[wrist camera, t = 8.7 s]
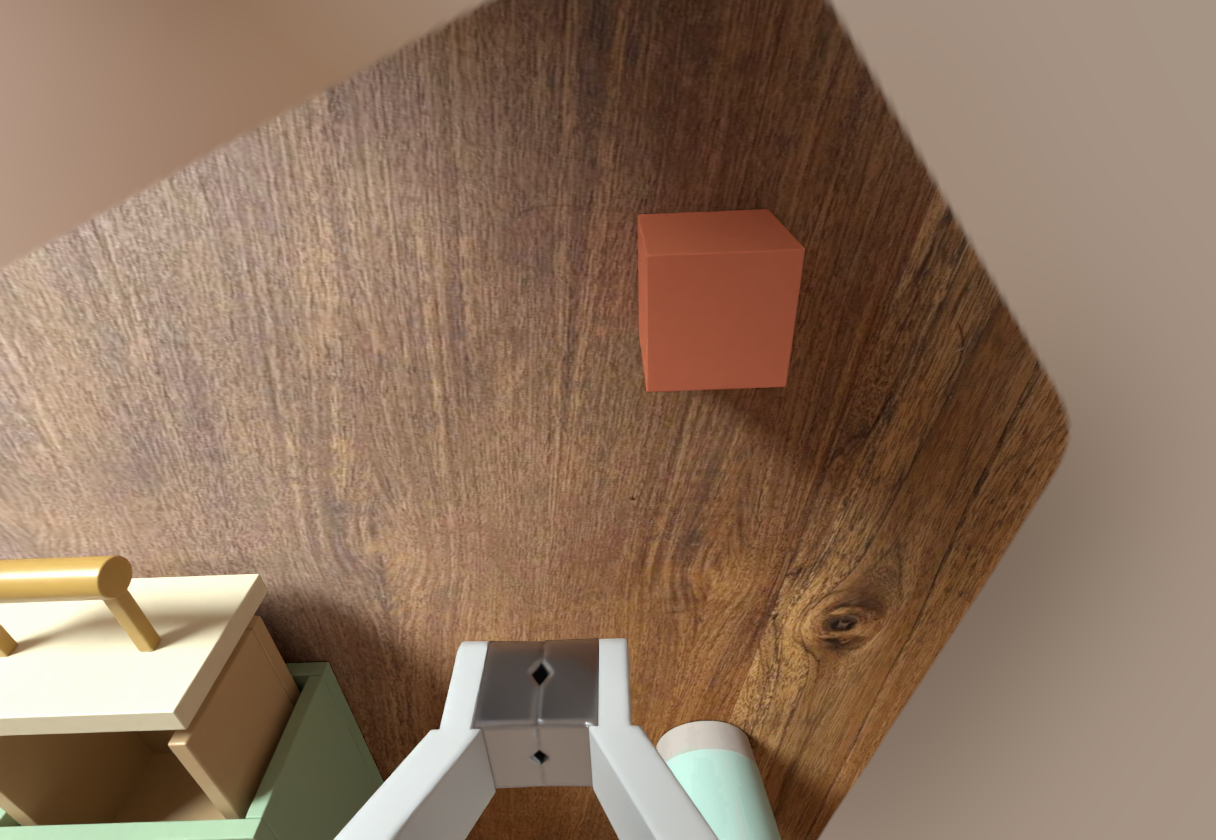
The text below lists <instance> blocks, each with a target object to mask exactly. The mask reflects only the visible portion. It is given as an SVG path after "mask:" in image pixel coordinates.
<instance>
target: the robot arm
mask: <svg viewBox="0 0 1216 840" xmlns="http://www.w3.org/2000/svg"><path fill="white" fill-rule="evenodd" d="M535 786H593V790H594V792H595V794H596V796H597V798H598V800H599V802H600V804H601V805H602V807H603V809H604V811H605V813H606V815H607V817H608V819H609V821H610V823H611V825H612V827H613V829H614V831H615V832H616V834H617V836H618V838H619V840H719V839H718V837H717V836H716V834H715V833H714V832H713V830H712V829H711V827H710V826H709V824H708V823H707V821H706V820H705V819H704V817H703V816H702V814H701V813H700V811H699V810H698V808H697V807H696V806H695V804H694V803H693V801H692V800H691V798H690V797H689V796H688V794H687V793H686V791H685V790H684V788H683V787H682V785H681V784H680V783H679V781H678V780H677V778H676V777H675V775H674V774H673V772H672V771H671V770H670V768H669V767H668V765H667V764H666V762H665V761H664V760H663V758H662V757H661V755H660V754H659V752H658V751H657V749H656V748H655V747H654V745H653V744H652V742H651V741H650V739H649V738H648V736H647V735H646V734H645V732H644V731H643V729H642V728H641V726H634V725H632V724H631V701H630V678H629V655H628V642H627V638H618V639H599V638H593V639H565V640H545V641H467V642H462V643H461V645H460V647H459V649H458V652H457V656H456V661H455V665H454V669H453V673H452V678H451V682H450V686H449V691H448V695H447V699H446V703H445V708H444V712H443V716H442V720H441V725H440V729H437V730H430V731H429V733H428V734H427V735H426V736H425V737H424V738H423V739H422V740H421V742H420V743H419V744H418V745H417V746H416V747H415V748H414V749H413V751H412V752H411V753H410V754H409V755H408V756H407V757H406V758H405V760H404V761H403V762H402V763H401V764H400V765H399V766H398V767H397V769H396V770H395V771H394V772H393V773H392V774H391V775H390V776H389V778H388V779H387V780H386V781H385V782H384V783H383V784H382V785H381V787H380V788H379V789H378V790H377V791H376V792H375V793H374V794H373V796H372V797H371V798H370V799H369V800H368V801H367V802H366V803H365V805H364V806H363V807H362V808H361V809H360V810H359V811H358V812H357V814H356V815H355V816H354V817H353V818H352V819H351V820H350V821H349V823H348V824H347V825H346V826H345V827H344V828H343V829H342V830H341V831H340V833H339V834H338V835H337V836H336V837H335V838H334V839H333V840H465V839H466V837H467V836H468V834H469V833H470V831H471V830H472V828H473V827H474V825H475V823H476V822H477V820H478V819H479V817H480V816H481V814H482V813H483V811H484V809H485V808H486V806H487V805H488V803H489V802H490V800H491V799H492V797H493V795H494V794H495V792H496V791H495V788H515V787H535Z"/></svg>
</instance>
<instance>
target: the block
mask: <svg viewBox="0 0 1216 840" xmlns="http://www.w3.org/2000/svg"><path fill="white" fill-rule="evenodd" d="M804 255H805V248H804V247H803V246H802V245H801V244H800V243H799V242H798V241H797V240H796V239H795V238H794V236H793V235H792V234H791V233H790V232H789V231H788V230H787V229H786V228H785V227H784V226H783V225H782V224H781V222H780V221H779V220H778V219H777V218H776V217H775V216H774V215H773V214H772V213H771V212H770V211H769V210H768V209H755V210H732V211H709V212H685V213H662V214H639V215H638V293H639V337H640V345H641V352H642V360H643V368H644V375H645V383H646V390H647V392H667V391H693V390H718V389H743V388H768V387H786V385H787V377H788V370H789V363H790V356H791V349H792V341H793V334H794V327H795V320H796V312H797V305H798V298H799V291H800V283H801V276H802V269H803V262H804Z"/></svg>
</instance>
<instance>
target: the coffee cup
mask: <svg viewBox="0 0 1216 840" xmlns="http://www.w3.org/2000/svg"><path fill="white" fill-rule="evenodd" d="M657 751H658V752H659V754H660V755H661V757H662V758H663V760H664V761H665V762H666V764H667V765H668V767H669V768H670V770H671V771H672V772H673V774H674V775H675V777H676V778H677V780H678V781H679V783H680V784H681V785H682V787H683V788H684V790H685V791H686V793H687V794H688V796H689V797H690V798H691V800H692V801H693V803H694V804H695V806H696V807H697V808H698V810H699V811H700V813H701V814H702V816H703V817H704V819H705V820H706V821H707V823H708V824H709V826H710V827H711V829H712V830H713V832H714V833H715V834H716V836H717V837H718V839H719V840H781V837H780V834H779V831H778V828H777V825H776V822H775V818H774V815H773V812H772V809H771V806H770V803H769V800H768V797H767V794H766V791H765V788H764V785H763V782H762V779H761V775H760V772H759V769H758V767H757V764H756V761H755V758H754V755H753V752H752V749H751V746H750V743H749V740H748V737H747V736H746V734H745V733H744V732H743V731H742V730H740V729H739V728H737V727H735V726H733V725H731V724H728V723H724V722H718V721H696V722H691V723H686V724H683V725H680V726H677V727H675V728H673V729H671V730H670V731H668V732H667V733H666V734H664V735H663V736H662V737H661V739H660V740H659V742H658V744H657Z"/></svg>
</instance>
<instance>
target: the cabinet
mask: <svg viewBox="0 0 1216 840" xmlns="http://www.w3.org/2000/svg"><path fill="white" fill-rule="evenodd" d="M285 664H286V666H287V668H288V670H289V672H290V674H291V676H292V678H293V680H294V681H295V683H296V685H297V687H298V689H299V691H300V693H301V694H300V697H299V699H298V701H297V703H296V705H295V708H294V710H293V712H292V714H291V717H290V719H289V721H288V723H287V726H286V728H285V730H284V732H283V735H282V737H281V739H280V741H279V743H278V746H277V748H276V750H275V752H274V755H273V757H272V759H271V761H270V764H269V766H268V768H267V770H266V772H265V775H264V777H263V779H262V781H261V784H260V786H259V788H258V790H257V793H256V795H255V797H254V799H253V802H252V804H251V806H250V808H249V810H248V813H247V815H246V819H223V820H192V821H162V822H131V823H100V824H70V825H39V826H22V825H21V824H19V823H18V822H17V821H16V820H15V819H14V818H12V817H11V816H10V815H9V814H8V813H7V812H5V811H4V810H3V809H2V808H1V807H0V840H333V839H334V838H335V837H336V836H337V835H338V834H339V833H340V831H341V830H342V829H343V828H344V827H345V826H346V825H347V824H348V823H349V821H350V820H351V819H352V818H353V817H354V816H355V815H356V814H357V812H358V811H359V810H360V809H361V808H362V807H363V806H364V805H365V803H366V802H367V801H368V800H369V799H370V798H371V797H372V796H373V794H374V793H375V792H376V791H377V790H378V789H379V788H380V787H381V785H382V784H383V783H384V781H383V779H382V777H381V775H380V773H379V770H378V768H377V766H376V764H375V762H374V760H373V757H372V755H371V753H370V751H369V749H368V747H367V744H366V742H365V740H364V738H363V736H362V734H361V731H360V729H359V727H358V725H357V723H356V721H355V718H354V716H353V714H352V712H351V710H350V708H349V705H348V703H347V701H346V699H345V697H344V695H343V692H342V690H341V688H340V686H339V684H338V681H337V679H336V677H335V675H334V673H333V671H332V668H331V666H330V664H329V662H310V663H285Z"/></svg>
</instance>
